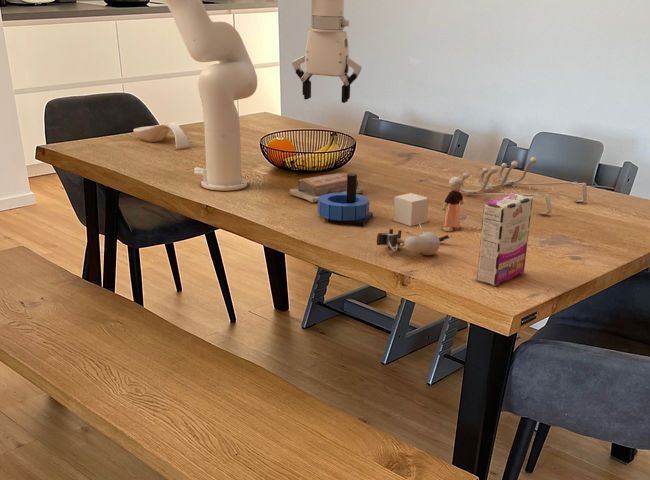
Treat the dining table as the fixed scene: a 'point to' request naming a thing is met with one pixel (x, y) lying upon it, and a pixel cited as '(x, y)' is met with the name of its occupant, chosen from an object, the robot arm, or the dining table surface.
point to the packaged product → (322, 186)
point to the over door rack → (504, 182)
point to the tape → (342, 207)
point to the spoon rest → (162, 134)
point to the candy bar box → (504, 238)
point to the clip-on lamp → (412, 241)
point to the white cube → (410, 209)
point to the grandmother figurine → (453, 205)
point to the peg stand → (352, 199)
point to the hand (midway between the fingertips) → (326, 100)
